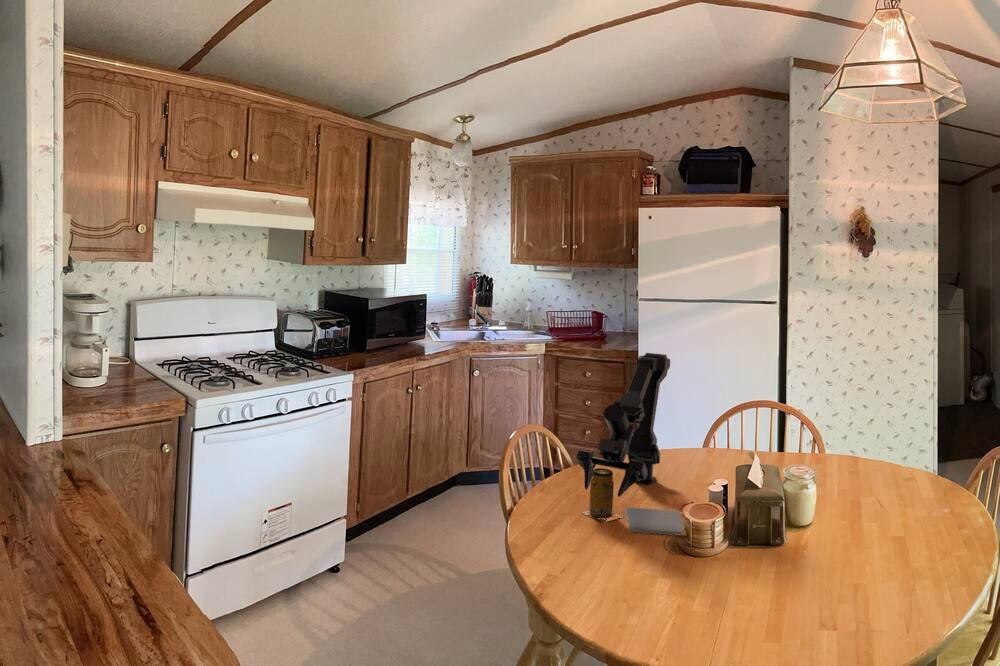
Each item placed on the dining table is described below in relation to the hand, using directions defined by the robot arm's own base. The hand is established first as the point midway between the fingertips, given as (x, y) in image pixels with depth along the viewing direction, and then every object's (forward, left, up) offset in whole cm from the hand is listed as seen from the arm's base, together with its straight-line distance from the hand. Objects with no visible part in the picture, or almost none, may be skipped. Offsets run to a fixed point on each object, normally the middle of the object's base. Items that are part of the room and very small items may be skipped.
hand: (601, 492), depth 178 cm
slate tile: (-5, +13, -7) cm, 15 cm away
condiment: (-1, 0, -7) cm, 7 cm away
